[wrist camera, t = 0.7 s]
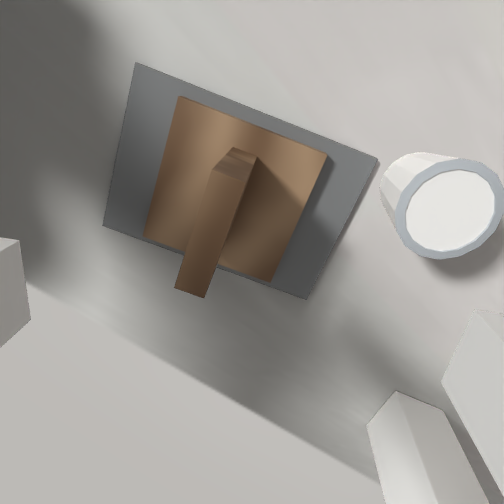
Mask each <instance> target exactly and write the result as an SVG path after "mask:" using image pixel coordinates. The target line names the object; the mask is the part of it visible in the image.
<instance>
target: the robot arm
mask: <svg viewBox="0 0 504 504" xmlns="http://www.w3.org/2000/svg"><path fill="white" fill-rule="evenodd" d="M30 320H31V317H30V310H29V303H28V297H27V289H26V282H25V275H24V269H23V262H22V255H21V248H20V241H19V240H14V239H7V238H1V237H0V348H1V347H2V346H3V345H4V344H5V343H6V342H7V341H8V340H9V339H10V338H12V337H13V336H14V335H15V334H16V333H17V332H18V331H19V330H20V329H21V328H22V327H23V326H24V325H26V324H27V323H28V322H29V321H30ZM441 384H442V386H443V387H444V389H445V391H446V393H447V395H448V397H449V398H450V400H451V402H452V404H453V406H454V407H455V409H456V411H457V413H458V415H459V417H460V418H461V420H462V422H463V424H464V426H465V427H466V429H467V431H468V433H469V435H470V437H471V438H472V440H473V442H474V444H475V446H476V447H477V449H478V451H479V453H480V455H481V456H482V458H483V460H484V462H485V464H486V466H487V467H488V469H489V471H490V473H491V475H492V476H493V478H494V480H495V482H496V484H497V486H498V487H499V489H500V491H501V493H502V495H503V496H504V316H503V315H502V314H501V313H496V312H489V311H482V310H476V309H474V311H473V314H472V316H471V318H470V320H469V322H468V324H467V327H466V329H465V331H464V333H463V335H462V337H461V339H460V342H459V344H458V346H457V348H456V350H455V352H454V355H453V357H452V359H451V361H450V363H449V365H448V367H447V370H446V372H445V374H444V376H443V378H442V380H441Z"/></svg>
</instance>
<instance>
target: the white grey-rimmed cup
mask: <svg viewBox="0 0 504 504" xmlns="http://www.w3.org/2000/svg"><path fill="white" fill-rule="evenodd" d="M379 188H380V200H381V202H382V204H383V206H384V208H385V210H386V212H387V214H388V216H389V217H390V219H391V221H392V223H393V225H394V227H395V229H396V231H397V233H398V235H399V236H400V238H401V240H402V242H403V243H404V245H405V246H406V247H408V248H409V249H410V250H412V251H413V252H415V253H416V254H418V255H419V256H423V257H428V258H433V259H438V260H440V259H447V258H453V257H460V256H462V255H464V254H466V253H468V252H470V251H472V250H474V249H476V248H478V247H479V246H480V245H482V244H483V243H484V242H485V241H486V240H487V239H488V238H489V237H490V236H491V235H492V234H493V233H494V232H495V230H496V228H497V226H498V224H499V222H500V220H501V218H502V216H503V214H504V188H503V186H502V184H501V181H500V179H499V177H498V175H497V174H496V173H495V172H493V171H492V170H491V169H489V168H488V167H487V166H485V165H484V164H483V163H481V162H477V161H472V160H467V159H461V158H455V157H449V156H443V155H436V154H430V153H424V152H417V153H412V154H407V155H404V156H403V157H401V158H400V159H398V160H396V161H395V162H393V163H392V164H391V165H390V167H389V168H388V169H387V170H386V172H385V173H384V174H383V177H382V181H381V184H380V187H379Z"/></svg>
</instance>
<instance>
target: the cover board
mask: <svg viewBox="0 0 504 504" xmlns="http://www.w3.org/2000/svg"><path fill="white" fill-rule="evenodd" d="M326 157H327V154H326V153H325V152H323V151H320V150H318V149H315V148H313V147H310V146H308V145H305V144H303V143H300V142H297V141H295V140H292V139H290V138H287V137H285V136H282V135H280V134H277V133H275V132H272V131H270V130H267V129H265V128H262V127H260V126H257V125H255V124H252V123H249V122H247V121H244V120H242V119H239V118H237V117H234V116H232V115H229V114H227V113H224V112H222V111H219V110H217V109H214V108H212V107H209V106H207V105H204V104H201V103H199V102H196V101H194V100H191V99H189V98H186V97H184V96H178V99H177V103H176V107H175V111H174V114H173V118H172V122H171V126H170V130H169V134H168V138H167V142H166V146H165V150H164V154H163V157H162V161H161V165H160V169H159V173H158V177H157V181H156V185H155V189H154V193H153V197H152V200H151V204H150V208H149V212H148V216H147V220H146V224H145V228H144V232H143V237H146V238H148V239H151V240H154V241H157V242H159V243H162V244H165V245H167V246H170V247H173V248H176V249H178V250H181V251H184V252H185V255H184V258H183V261H182V265H181V268H180V271H179V274H178V277H177V280H176V283H175V287H174V288H176V289H179V290H182V291H184V292H187V293H190V294H193V295H196V296H198V297H201V298H204V297H205V294H206V292H207V289H208V287H209V284H210V281H211V279H212V276H213V274H214V271H215V269H216V266H217V264H220V265H222V266H225V267H228V268H231V269H233V270H236V271H239V272H242V273H244V274H247V275H250V276H253V277H255V278H258V279H261V280H263V281H266V282H269V283H271V280H272V278H273V276H274V274H275V271H276V269H277V267H278V265H279V262H280V260H281V258H282V256H283V254H284V251H285V249H286V247H287V245H288V242H289V240H290V238H291V236H292V233H293V231H294V229H295V227H296V224H297V222H298V220H299V218H300V215H301V213H302V211H303V209H304V207H305V204H306V202H307V200H308V198H309V195H310V193H311V191H312V189H313V186H314V184H315V182H316V180H317V177H318V175H319V173H320V171H321V169H322V166H323V164H324V162H325V160H326Z"/></svg>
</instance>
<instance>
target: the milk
mask: <svg viewBox="0 0 504 504" xmlns="http://www.w3.org/2000/svg"><path fill="white" fill-rule="evenodd" d="M366 427H367V431H368V435H369V439H370V443H371V447H372V451H373V455H374V459H375V464H376V468H377V472H378V476H379V480H380V484H381V488H382V492H383V496H384V500H385V504H490V503H489V501H488V499H487V497H486V495H485V493H484V491H483V489H482V487H481V485H480V483H479V481H478V479H477V477H476V475H475V473H474V471H473V469H472V467H471V465H470V463H469V461H468V459H467V457H466V455H465V453H464V451H463V449H462V447H461V445H460V443H459V441H458V439H457V437H456V435H455V433H454V431H453V429H452V427H451V425H450V423H449V421H448V419H447V417H446V415H445V413H444V412H443V410H441V409H438V408H436V407H433V406H431V405H429V404H426V403H424V402H421V401H419V400H417V399H414V398H412V397H409V396H407V395H405V394H402V393H400V392H397V391H395V392H394V393H393V394H392V395H391V397H390V398H389V399H388V400H387V401H386V403H385V404H384V405H383V406H382V407H381V408H380V410H379V411H378V412H377V413H376V414H375V416H374V417H373V418H372V419H371V420H370V422H369V423H368V424H367V425H366Z"/></svg>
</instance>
